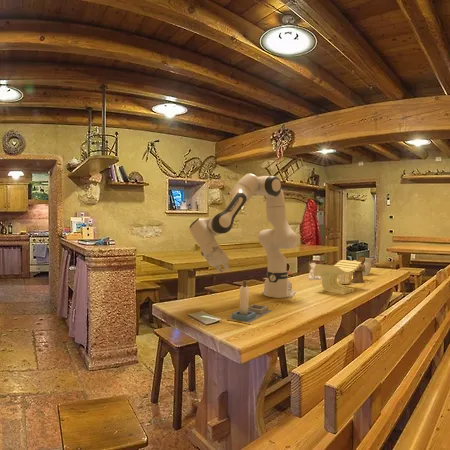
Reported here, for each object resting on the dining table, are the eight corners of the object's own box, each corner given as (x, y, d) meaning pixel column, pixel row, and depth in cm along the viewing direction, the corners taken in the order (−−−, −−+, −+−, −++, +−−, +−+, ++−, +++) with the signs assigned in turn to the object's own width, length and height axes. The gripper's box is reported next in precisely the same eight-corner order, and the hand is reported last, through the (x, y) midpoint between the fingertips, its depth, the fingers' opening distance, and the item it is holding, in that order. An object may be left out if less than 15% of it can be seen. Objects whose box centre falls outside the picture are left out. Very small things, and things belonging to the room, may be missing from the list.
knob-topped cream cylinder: (242, 315, 172) (243, 278, 172) (249, 317, 170) (250, 279, 169) (237, 317, 169) (238, 280, 168) (245, 319, 167) (246, 281, 166)
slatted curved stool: (337, 285, 251) (338, 259, 250) (360, 289, 239) (361, 261, 239) (313, 291, 230) (314, 263, 229) (337, 296, 218) (337, 266, 218)
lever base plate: (251, 308, 188) (251, 302, 188) (273, 312, 182) (273, 306, 182) (226, 320, 168) (226, 313, 168) (249, 324, 161) (249, 318, 161)
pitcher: (354, 272, 306) (354, 255, 305) (376, 275, 293) (376, 258, 293) (348, 274, 298) (348, 256, 297) (370, 277, 285) (371, 259, 285)
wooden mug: (367, 281, 268) (368, 256, 268) (360, 283, 258) (361, 258, 257) (355, 279, 274) (356, 255, 274) (348, 281, 264) (349, 256, 263)
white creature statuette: (309, 280, 269) (309, 263, 268) (304, 278, 277) (305, 262, 277) (321, 279, 270) (321, 263, 270) (316, 277, 279) (316, 261, 278)
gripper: (222, 242, 179) (237, 266, 180) (209, 247, 198) (222, 269, 198) (212, 249, 176) (227, 273, 177) (199, 253, 195) (213, 275, 196)
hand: (225, 271), depth 188 cm, fingers open, 8 cm apart
